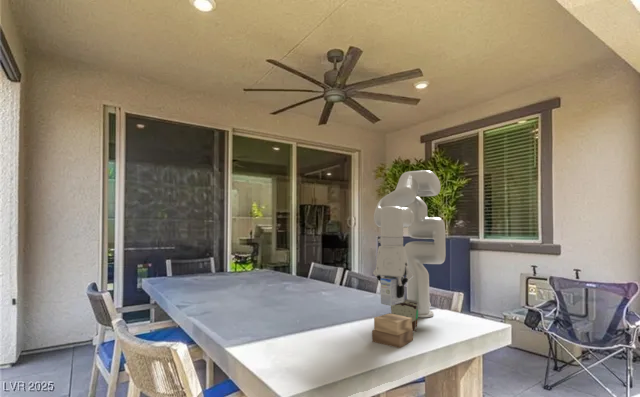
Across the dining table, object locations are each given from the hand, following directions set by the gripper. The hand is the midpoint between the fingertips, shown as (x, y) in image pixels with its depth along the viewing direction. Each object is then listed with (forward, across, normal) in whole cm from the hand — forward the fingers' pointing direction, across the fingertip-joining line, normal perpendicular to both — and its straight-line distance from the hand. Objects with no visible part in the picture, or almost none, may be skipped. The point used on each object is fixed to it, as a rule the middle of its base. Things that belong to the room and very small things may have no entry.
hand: (392, 295), depth 122 cm
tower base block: (+15, 0, 0) cm, 15 cm away
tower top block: (+11, 0, 0) cm, 11 cm away
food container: (+15, -3, +18) cm, 24 cm away
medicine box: (+3, 0, 0) cm, 3 cm away
